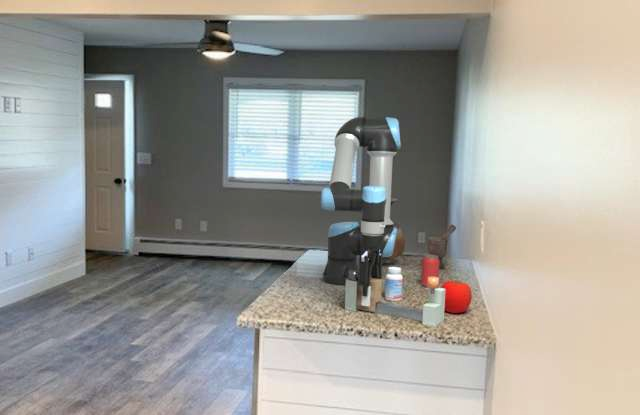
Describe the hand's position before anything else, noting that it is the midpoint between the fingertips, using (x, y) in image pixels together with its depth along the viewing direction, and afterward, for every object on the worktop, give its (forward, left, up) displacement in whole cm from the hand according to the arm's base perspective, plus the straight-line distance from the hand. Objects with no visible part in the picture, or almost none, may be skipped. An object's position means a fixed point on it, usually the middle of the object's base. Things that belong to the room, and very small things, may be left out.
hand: (369, 303), depth 198 cm
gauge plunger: (+22, -2, +7) cm, 23 cm away
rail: (+7, 0, -2) cm, 7 cm away
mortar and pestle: (-3, +82, -2) cm, 82 cm away
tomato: (+24, +15, -3) cm, 28 cm away
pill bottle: (+1, +18, -2) cm, 18 cm away
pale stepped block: (+22, 0, -2) cm, 22 cm away
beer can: (+5, +45, -2) cm, 45 cm away
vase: (-27, +72, -2) cm, 77 cm away
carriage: (0, 0, -2) cm, 2 cm away
